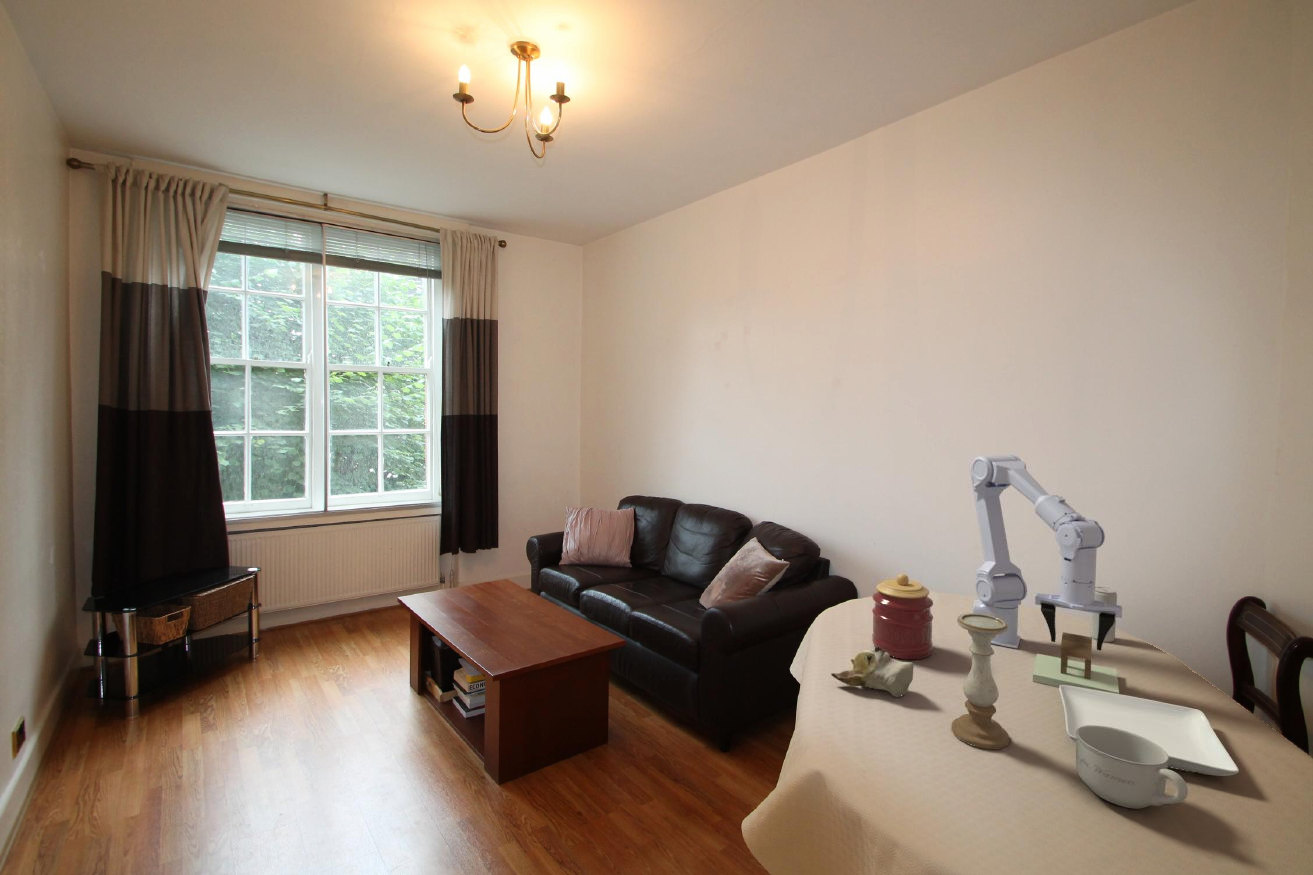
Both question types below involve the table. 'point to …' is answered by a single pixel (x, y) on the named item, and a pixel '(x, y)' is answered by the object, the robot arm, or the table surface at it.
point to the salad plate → (1151, 727)
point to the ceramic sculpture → (878, 672)
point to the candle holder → (981, 685)
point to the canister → (902, 618)
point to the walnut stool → (1076, 651)
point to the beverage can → (1103, 596)
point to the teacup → (1125, 767)
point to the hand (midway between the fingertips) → (1075, 644)
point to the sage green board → (1074, 674)
